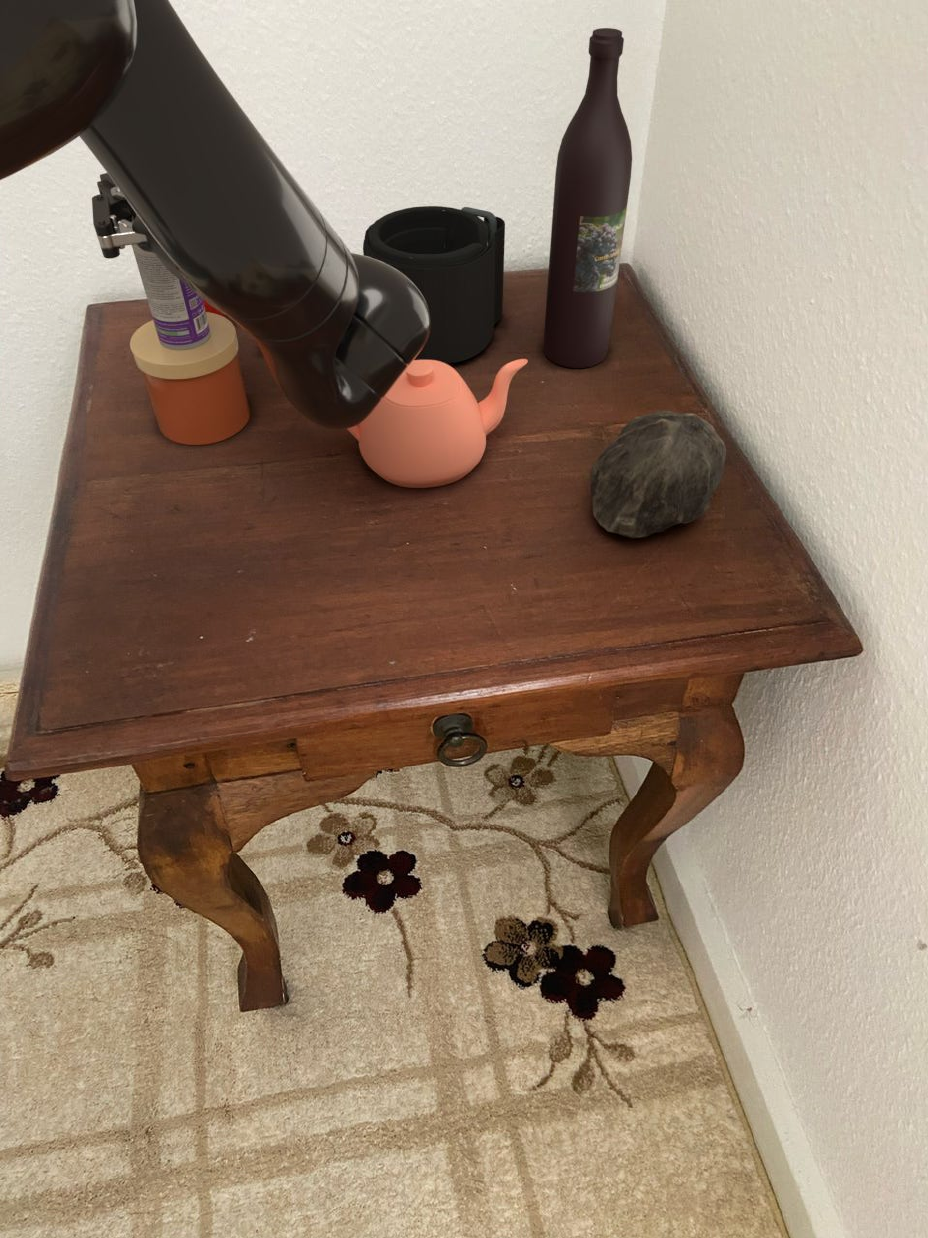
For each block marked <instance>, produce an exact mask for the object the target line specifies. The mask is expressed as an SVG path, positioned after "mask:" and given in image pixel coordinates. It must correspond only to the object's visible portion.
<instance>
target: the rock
mask: <svg viewBox="0 0 928 1238" xmlns="http://www.w3.org/2000/svg"><path fill="white" fill-rule="evenodd" d="M726 454H727V449H726V445H725V442H724V441H723V439H722V438H721V436H719V435H718V434H717V432H716V430H715V427H714V426H713V425H712V424H710V422H708V421H706V419H703V418H702V417H700V416H698V415H697V413H692V412H691V413H690V412H685V413H678V412H675V411H670V410H661V411H657V412H652V413H647V414H644V415H639V416H635V417H634V418H633V419H632V420H630V421H629V422H627V423H626V424H625V425H624V426H623V427H622V428H621V430H620V433H619V434H618V436H617V437H616V438H615V439H614V440H613V441H612V442H611V443H610V444H608V445H607V446H606V447H605V448H604V450H603V451H602V452H601V453H600V455H599V456H598V458H597V460H596V461H595V463H593V465H592V466H591V467H592V468H591V470H590V479H589V481H590V483H589V484H590V501H591V502H590V503H591V510H592V515H593V517H594V518H595V520H596V521H597V523H598V524H599V525H600V526H601V527H602V528H604V530H606V531H607V532H608V533H613V534H618V535H620V536H623V537H626V538H628V539H633V540H634V539H640V538H647V537H649V536H651V535H652V534H654V533H662V532H665V531H666V530H667V529H668V528H671V527H674V526H675V525H676V526H677V525H678V524H689V523H691V522H693V521H695V520H698V519H700V518H702V517H703V516H704V514H705V513H706V512H707V511H708V510H709V508H710V506H711V500H712V499H711V498H712V496H713V495H714V493H715V491H716V490H717V488H718V487H719V485H720V483H721V481H722V478H723V473H724V469H725V463H726Z"/></svg>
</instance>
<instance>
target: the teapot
mask: <svg viewBox="0 0 928 1238" xmlns="http://www.w3.org/2000/svg"><path fill="white" fill-rule="evenodd" d="M528 361H529V359H527V358H520V359H516V360H512V361H510V362H508V363H506V364H504V365H503V366H501V368H500V369H499V370H498V372H497V373H496V376H495V378H494V381H493V385H492V388H491V391H490V392H489V394H488V395H487V396H486V397H485V398H484V399H482V400H481V401H479V402H478V401H477V399H476V397H475V395H474V393H473V392H472V391H471V389H470V387H469V386H468V384H467V383H466V381H465V380H464V379H463V378H462V376H461V375H460V374H459V372H458V371H457V370H456V369H455V368H453V367H452V366H451V365H450V364H448V365H447V364H445V363H443V362H440V361H436V360H413V361H412V363H411V364H410V365H409V366H407V369H406V370H405V371H404V372H403V374H402V375H401V376H400V378H399V379H398V380H397V381H396V383H395V384H394V385H393V387H392V388H391V389H390V390H389V392H388V393H387V394H386V395H385V397H384V398H383V399H382V400H381V402H380V403H379V404H378V406H377V407H376V408H375V409H374V411H373V412H372V413H371V414H370V415H369V416H368V417H367V418H366V419H365V420H364V421H363V422H361V423H360V424H358V425H356V426H354V427H351V428H347V429H346V430H347V432H349V433H350V434H351V435H352V437H354V438H355V440H356V441H358V449H359V453H360V455H361V456H362V458H363V460H364V462H365V463H366V464H367V466H368V467H369V468H370V469H371V470H372V471H373V472H374V473H375V474H377V475H378V476H379V477H380V478H382V479H383V480H385V481H386V482H388V483H389V484H392V485H395V486H398V487H401V488H409V489H427V488H436V487H441V486H446V485H449V484H452V483H456V482H457V481H459V480H461V479H463V478H464V477H465V476H467V475H468V474H469V473H470V472H472V470H474V468H475V467H476V466H477V465H478V464H479V463H480V461H481V460H482V459H483V458H482V457H483V455H484V453H485V450H486V447H487V436H488V435H489V434H490V433H492V431H494V430H495V429H496V428H497V427H498V426H499V424H500V423H501V421H502V420H503V417H504V415H505V411H506V406H507V401H508V393H509V388H510V384H511V382H512V379H513V377H514V376H515V375H516V374H517V372H518V371H520V370H521V369H522V368H523V367H524V366H526V365H527V364H528Z"/></svg>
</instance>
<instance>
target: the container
mask: <svg viewBox="0 0 928 1238" xmlns="http://www.w3.org/2000/svg"><path fill="white" fill-rule="evenodd" d="M125 227H130V226H127V225H125ZM131 248H132V252H133V255H134V259H135V261H136V265H137V268H138V272H139V276H140V279H141V283H142V286H143V290H144V293H145V296H146V300H147V303H148V307H149V311H150V315H151V317H152V320H153V321H154V324H155V328H156V331H157V335H158V338H159V341H160V343H161V345H162V346H164V347H165V348H168V349H171V350H189V349H193V348H196V347H199V346H201V345H203V344H204V343H206V342H207V341H208V340H209V338H210V335H211V334H210V329H209V324H208V320H207V316H206V312H205V307H204V303H203V299H202V298H201V297H200V296H199V295H198V294H196V293H195V292H194V291H193V290H192V289H190V288H189V287H188V286H187V285H186V284H184V283H183V282H182V281H181V280H180V279H178V278H177V277H176V276H175V275H174V274H172V273H171V272H170V271H169V270H168V269H167V268H166V267H165V266H164V264H163V263H162V262H161V261H160V259H159V258H158V257H157V255H156V254H155V253H152V252H147V251H144V250H142V249H140V248H139V247H138V245H137V244H134V245H131Z"/></svg>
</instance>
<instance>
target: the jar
mask: <svg viewBox="0 0 928 1238" xmlns="http://www.w3.org/2000/svg"><path fill="white" fill-rule="evenodd" d="M206 316H207V320H208V324H209V329H210V334H211V335H210V338H209V340H208V341H207V342H206V343H204V344H203V345H201V346H199V347H196V348H193V349H189V350H171V349H168V348H165V347H164V346H162V345H161V343H160V341H159V338H158V335H157V331H156V328H155V324H154V321H153V319H151V320H149V321H147V322H146V323H144V324H143V325H141V326H140V327H138V328H137V330H135V332H134V333H133V334H132V335H131V338H130V341H129V347H130V350H131V354H132V357H133V360H134V363H135V365H136V367H137V368H138V369H139V370H140V371H141V375H142V377H143V381H144V384H145V387H146V390H147V394H148V397H149V400H150V404H151V406H152V410H153V414H154V415H155V419H156V422H157V425H158V428H159V431H160V432H161V434H162V436H164V437H165V438H166V439H168V440H169V441H171V442H174V443H177V444H180V445H187V446H205V445H211V444H216V443H219V442H222V441H225V440H228V439H229V438H232V437H234V436H235V435H237V434H238V433H240V431H242V430H243V429H244V428H245V427H246V425H247V424H248V423H249V420H250V416H251V410H250V406H249V401H248V396H247V392H246V387H245V383H244V382H245V381H244V378H243V373H242V368H241V364H240V360H239V356H238V352H239V346H240V345H239V340H238V335H237V330H236V327H235V325H234V324H233V323H232V321H230V320H229V319H228V318H226V316H225V317H223V316H220V315H218V314H214V313H210V312H206Z"/></svg>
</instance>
